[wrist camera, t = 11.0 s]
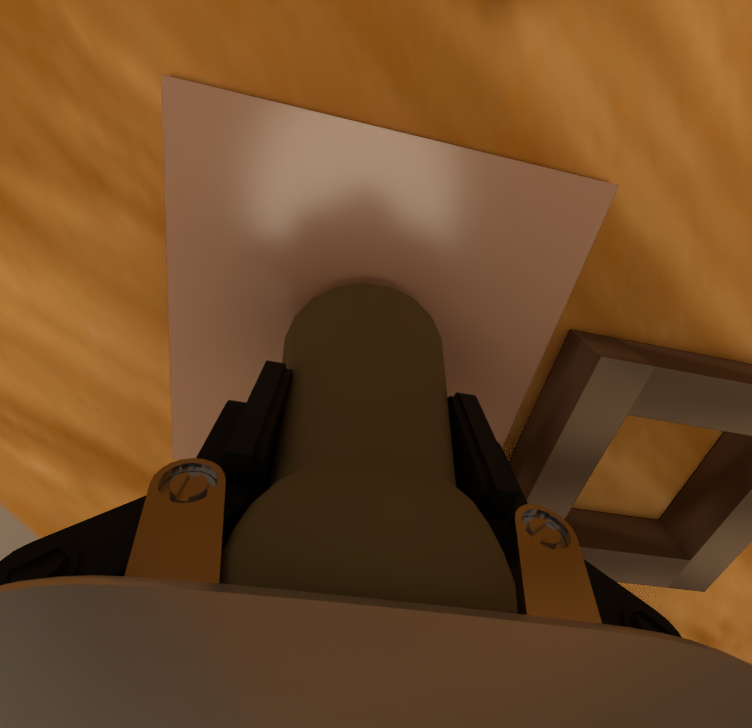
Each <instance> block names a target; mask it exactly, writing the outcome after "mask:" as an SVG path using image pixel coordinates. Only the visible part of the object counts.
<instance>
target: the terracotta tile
mask: <svg viewBox="0 0 752 728" xmlns="http://www.w3.org/2000/svg"><path fill="white" fill-rule="evenodd" d="M161 81H162V114H163V147H164V181H165V214H166V248H167V281H168V314H169V348H170V381H171V415H172V448H173V459H178V460H181V459H190V458H196V457H197V455H198V453H199V451H200V450H201V448H202V446H203V444H204V442H205V441H206V439H207V437H208V435H209V433H210V431H211V430H212V428H213V426H214V424H215V422H216V420H217V419H218V417H219V415H220V413H221V411H222V410H223V408H224V406H225V404H226V403H227V401H228V400H234V401H240V402H247V400H248V398H249V396H250V394H251V392H252V390H253V387H254V385H255V383H256V381H257V379H258V377H259V375H260V373H261V370H262V368H263V366H264V364H265V362H266V360H268V361H274V362H280V363H282V359H283V349H284V340H285V336H286V334H287V332H288V330H289V328H290V326H291V323H292V321H293V319H294V317H295V316H296V315H297V314H298V313H299V312H300V311H301V310H302V309H303V308H304V307H305V306H306V305H307V304H308V302H309V301H310V300H311V299H312V298H314V297H316V296H318V295H320V294H322V293H324V292H326V291H328V290H330V289H332V288H334V287H337V286H344V285H350V284H357V283H370V284H376V285H382V286H389V287H392V288H394V289H396V290H398V291H400V292H402V293H404V294H406V295H408V296H410V297H412V298H414V299H415V300H416V301H417V302H418V303H419V304H420V305H421V306H422V307H423V308H424V309H425V310H426V311H427V312H428V313H429V314H430V316H431V317H432V318H433V321H434V323H435V325H436V327H437V329H438V331H439V334H440V336H441V338H442V347H443V357H444V367H445V378H446V388H447V398H448V397H449V396H454V395H455V393H457V392H459V393H465V394H471V395H475V396H476V397H477V399H478V401H479V403H480V406H481V408H482V410H483V412H484V414H485V416H486V419H487V421H488V423H489V425H490V427H491V430H492V432H493V434H494V436H495V438H496V440H497V442H499V444H500V445H501V447H503V445H504V443H505V441H506V438H507V436H508V434H509V432H510V429H511V427H512V425H513V423H514V420H515V418H516V416H517V414H518V411H519V409H520V407H521V405H522V402H523V400H524V398H525V396H526V393H527V391H528V389H529V387H530V384H531V382H532V380H533V378H534V375H535V373H536V371H537V369H538V366H539V364H540V362H541V360H542V357H543V355H544V353H545V351H546V348H547V346H548V344H549V342H550V339H551V337H552V335H553V333H554V330H555V328H556V326H557V324H558V321H559V319H560V317H561V315H562V312H563V310H564V308H565V306H566V303H567V301H568V299H569V297H570V294H571V292H572V290H573V288H574V285H575V283H576V281H577V279H578V276H579V274H580V272H581V270H582V267H583V265H584V263H585V261H586V259H587V256H588V254H589V252H590V250H591V247H592V245H593V243H594V241H595V238H596V236H597V234H598V232H599V229H600V227H601V225H602V223H603V220H604V218H605V216H606V214H607V211H608V209H609V207H610V205H611V202H612V200H613V198H614V196H615V193H616V191H617V189H618V187H619V185H616V184H612V183H608V182H604V181H600V180H596V179H591V178H587V177H583V176H579V175H575V174H571V173H567V172H563V171H558V170H554V169H550V168H546V167H542V166H538V165H534V164H529V163H525V162H521V161H517V160H513V159H509V158H505V157H501V156H496V155H492V154H488V153H484V152H480V151H476V150H472V149H468V148H463V147H459V146H455V145H451V144H447V143H443V142H439V141H435V140H430V139H426V138H422V137H418V136H414V135H410V134H406V133H402V132H397V131H393V130H389V129H385V128H381V127H377V126H373V125H368V124H364V123H360V122H356V121H352V120H348V119H344V118H340V117H335V116H331V115H327V114H323V113H319V112H315V111H311V110H307V109H302V108H298V107H294V106H290V105H286V104H282V103H278V102H274V101H269V100H265V99H261V98H257V97H253V96H249V95H245V94H240V93H236V92H232V91H228V90H224V89H220V88H216V87H212V86H207V85H203V84H199V83H195V82H191V81H187V80H183V79H179V78H174V77H170V76H166V75H162V74H161Z"/></svg>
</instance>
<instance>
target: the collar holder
mask: <svg viewBox="0 0 752 728" xmlns="http://www.w3.org/2000/svg"><path fill="white" fill-rule="evenodd" d="M626 415H632V416H637V417H643V418H649V419H655V420H661V421H667V422H673V423H679V424H685V425H691V426H697V427H703V428H709V429H715V430H721V431H725V432H724V434H723V435H722V436H721V438H720V439H719V440H718V442H717V443H716V444H715V446H714V447H713V448H712V450H711V451H710V452H709V454H708V455H707V456H706V458H705V459H704V460H703V462H702V463H701V464H700V466H699V467H698V468H697V470H696V471H695V473H694V474H693V475H692V477H691V478H690V479H689V481H688V482H687V483H686V485H685V486H684V487H683V489H682V490H681V491H680V493H679V494H678V495H677V497H676V498H675V499H674V501H673V502H672V503H671V505H670V506H669V507H668V509H667V510H666V511H665V513H664V514H663V515H662V517H661V518H660V519H659V520H652V519H645V518H638V517H630V516H623V515H616V514H608V513H601V512H593V511H586V510H579V509H571V508H572V506H573V504H574V503H575V501H576V499H577V498H578V496H579V494H580V492H581V491H582V489H583V487H584V486H585V484H586V482H587V481H588V479H589V477H590V476H591V474H592V472H593V471H594V469H595V467H596V466H597V464H598V462H599V461H600V459H601V457H602V456H603V454H604V452H605V451H606V449H607V447H608V445H609V444H610V442H611V440H612V439H613V437H614V435H615V434H616V432H617V430H618V429H619V427H620V425H621V424H622V422H623V420H624V419H625V417H626ZM509 464H510V466H511V468H512V470H513V473H514V475H515V477H516V479H517V481H518V483H519V485H520V488H521V490H522V492H523V494H524V496H525V498H526V500H527V503H528V504H534V505H539V506H543V507H545V508H547V509H550V510H552V511H553V512H555V513H556V514H558V515H560V516H561V517H562V518H563V519H564V520H565V521H566V522H568V524H569V525H570V526H571V528H572V529H573V530H574V532H575V534H576V537H577V539H578V542H579V546H580V549H581V553H582V556H583V559H585V560H586V561H587V562H589V563H590V564H592V565H593V566H594V567H596V568H597V569H599V570H600V571H601V572H603V573H604V574H606V575H607V576H608V577H610V578H611V579H613V580H614V581H615V582H622V583H631V584H640V585H649V586H658V587H666V588H675V589H684V590H693V591H701V592H705V591H706V590H707V588H708V587H709V586H710V585H711V584H712V583H713V582H714V581H715V580H716V579H717V578H718V577H719V576H720V574H721V573H722V572H723V571H724V570H725V569H726V568H727V567H728V566H729V565H730V564H731V563H732V562H733V560H734V559H735V558H736V557H737V556H738V555H739V554H740V553H741V552H742V551H743V550H744V549H745V547H746V546H747V545H748V544H749V543H750V542H751V541H752V364H747V363H742V362H737V361H731V360H726V359H721V358H716V357H711V356H705V355H700V354H695V353H690V352H685V351H679V350H674V349H669V348H664V347H659V346H653V345H648V344H643V343H638V342H633V341H627V340H622V339H617V338H612V337H607V336H601V335H596V334H591V333H586V332H581V331H575V330H570V332H569V334H568V336H567V338H566V340H565V342H564V345H563V347H562V349H561V351H560V353H559V355H558V357H557V360H556V362H555V364H554V366H553V368H552V370H551V373H550V375H549V377H548V379H547V381H546V383H545V385H544V388H543V390H542V392H541V394H540V396H539V398H538V401H537V403H536V405H535V407H534V409H533V411H532V413H531V416H530V418H529V420H528V422H527V424H526V426H525V429H524V431H523V433H522V435H521V437H520V439H519V442H518V444H517V446H516V448H515V450H514V452H513V454H512V457H511V459H510V461H509Z"/></svg>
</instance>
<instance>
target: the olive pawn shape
mask: <svg viewBox="0 0 752 728" xmlns="http://www.w3.org/2000/svg"><path fill="white" fill-rule="evenodd" d="M282 363H286V369H292V376H291V380H290V383H289V387H288V391H287V395H286V399H285V404H284V408H283V412H282V416H281V421H280V425H279V429H278V433H277V438H276V442H275V446H274V450H273V456H272V465H271V475H270V485H269V489H268V490H267V491H266V492H264V493H263V494H262V495H261V496H260V497H258V498H257V499H256V500H255V501H254V502H253V503H252V504H251V505H250V506H249V508H248V509H247V511H246V512H245V513H244V515H243V516H242V518H241V519H240V521H239V522H238V523H237V525H236V526H235V528H234V530H233V532H232V534H231V536H230V537H229V539H228V541H227V543H226V545H225V547H224V549H223V551H222V553H221V566H220V582H219V583H221V584H232V585H242V586H252V587H262V588H273V589H283V590H293V591H303V592H314V593H324V594H334V595H344V596H354V597H364V598H373V599H383V600H393V601H403V602H412V603H422V604H431V605H441V606H451V607H460V608H470V609H479V610H488V611H497V612H506V613H515V614H518V608H517V597H516V586H515V582H514V579H513V577H512V574H511V571H510V568H509V566H508V563H507V560H506V558H505V555H504V552H503V550H502V548H501V547H500V545H499V543H498V541H497V539H496V537H495V535H494V533H493V531H492V529H491V527H490V526H489V524H488V522H487V521H486V519H485V518H484V517H483V515H482V514H481V512H480V511H479V509H478V508H477V507H476V505H475V504H474V502H473V501H472V500H471V499H470V498H469V497H467V496H466V495H465V494H464V493H463V492H461V491H460V490H459V489H458V488H456V480H455V470H454V460H453V450H452V439H451V429H450V419H449V408H448V398H447V388H446V378H445V367H444V357H443V347H442V338H441V336H440V334H439V331H438V329H437V327H436V325H435V323H434V321H433V318H432V317H431V316H430V314H429V313H428V312H427V311H426V310H425V309H424V308H423V307H422V306H421V305H420V304H419V303H418V302H417V301H416V300H415V299H414V298H412V297H410V296H408V295H406V294H404V293H402V292H400V291H398V290H396V289H394V288H392V287H389V286H382V285H376V284H370V283H357V284H350V285H344V286H337V287H334V288H332V289H330V290H328V291H326V292H324V293H322V294H320V295H318V296H316V297H314V298H312V299H311V300H310V301H309V302H308V304H307V305H306V306H305V307H304V308H303V309H302V310H301V311H300V312H299V313H298V314H297V315H296V316H295V317H294V319H293V321H292V323H291V326H290V328H289V330H288V332H287V334H286V336H285V340H284V349H283V359H282Z"/></svg>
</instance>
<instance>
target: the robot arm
mask: <svg viewBox="0 0 752 728" xmlns="http://www.w3.org/2000/svg"><path fill="white" fill-rule="evenodd" d="M291 376H292V369H286V363H280V362H274V361H268V360H266V362H265V364H264V366H263V368H262V370H261V373H260V375H259V377H258V379H257V381H256V383H255V385H254V387H253V390H252V392H251V394H250V396H249V398H248V400H247V402H240V401H234V400H228V401H227V403H226V404H225V406H224V408H223V410H222V411H221V413H220V415H219V417H218V419H217V420H216V422H215V424H214V426H213V428H212V430H211V431H210V433H209V435H208V437H207V439H206V441H205V442H204V444H203V446H202V448H201V450H200V451H199V453H198V455H197V457H196V458H190V459H181V460H178V461H175V462H172V463H170V464H168V465H166V466H164V467H163V468H161V469H160V470H159V471H158V472H157V473H156V474H155V475H154V476H153V478H152V480H151V482H150V485H149V488H148V492H147V495H146V496H144V497H141V498H139V499H137V500H134V501H132V502H129V503H127V504H124V505H122V506H119V507H117V508H114V509H112V510H110V511H107V512H105V513H102V514H100V515H97V516H95V517H92V518H90V519H87V520H85V521H83V522H80V523H78V524H75V525H73V526H70V527H68V528H65V529H63V530H60V531H58V532H56V533H53V534H51V535H48V536H46V537H43V538H41V539H38V540H36V541H33V542H31V543H29V544H27V545H25V546H23V547H21V548H19V549H17V550H15V551H13V552H12V553H11V554H9V555H8V556H7V557H5V558H4V559H2V560H1V561H0V728H752V665H751V664H749V663H747V662H745V661H743V660H740V659H738V658H736V657H734V656H732V655H730V654H728V653H725V652H723V651H721V650H718V649H715V648H712V647H709V646H706V645H704V644H701V643H698V642H695V641H692V640H689V639H685V638H682V637H681V635H680V634H679V632H678V631H677V630H676V629H675V628H674V627H673V625H672V624H671V623H670V622H669V621H668V620H667V619H666V618H664V617H663V616H662V615H661V614H660V613H658V612H657V611H656V610H654V609H653V608H652V607H650V606H649V605H647V604H646V603H645V602H643V601H642V600H640V599H639V598H638V597H636V596H635V595H633V594H632V593H631V592H629V591H628V590H626V589H625V588H624V587H622V586H621V585H620V584H618V583H617V582H615V581H614V580H613V579H611V578H610V577H608V576H607V575H606V574H604V573H603V572H601V571H600V570H599V569H597V568H596V567H594V566H593V565H592V564H590V563H589V562H587V561H586V560H585V559H583V556H582V553H581V549H580V546H579V542H578V539H577V537H576V534H575V532H574V530H573V529H572V528H571V526H570V525H569V524H568V522H566V521H565V520H564V519H563V518H562V517H561V516H560V515H558V514H556V513H555V512H553V511H552V510H550V509H547V508H545V507H543V506H539V505H534V504H528V503H527V500H526V498H525V496H524V494H523V492H522V490H521V488H520V485H519V483H518V481H517V479H516V477H515V475H514V473H513V470H512V468H511V466H510V464H509V462H508V460H507V458H506V455H505V453H504V451H503V449H502V447H501V445H500V444H499V442H497V440H496V438H495V436H494V434H493V432H492V430H491V427H490V425H489V423H488V421H487V419H486V416H485V414H484V412H483V410H482V408H481V406H480V403H479V401H478V399H477V397H476V396H475V395H471V394H465V393H459V392H457V393H455V395H454V396H449V397H448V408H449V419H450V429H451V439H452V450H453V460H454V470H455V480H456V488H458V489H459V490H460V491H461V492H463V493H464V494H465V495H466V496H467V497H469V498H470V499H471V500H472V501H473V502H474V504H475V505H476V507H477V508H478V509H479V511H480V512H481V514H482V515H483V517H484V518H485V519H486V521H487V522H488V524H489V526H490V527H491V529H492V531H493V533H494V535H495V537H496V539H497V541H498V543H499V545H500V547H501V548H502V550H503V552H504V555H505V558H506V560H507V563H508V566H509V568H510V571H511V574H512V577H513V579H514V582H515V586H516V597H517V608H518V614H515V613H506V612H497V611H488V610H479V609H470V608H460V607H451V606H441V605H431V604H422V603H412V602H403V601H393V600H383V599H373V598H364V597H354V596H344V595H334V594H324V593H314V592H303V591H293V590H283V589H273V588H262V587H252V586H242V585H232V584H221V583H219V582H220V566H221V553H222V551H223V549H224V547H225V545H226V543H227V541H228V539H229V537H230V536H231V534H232V532H233V530H234V528H235V526H236V525H237V523H238V522H239V521H240V519H241V518H242V516H243V515H244V513H245V512H246V511H247V509H248V508H249V506H250V505H251V504H252V503H253V502H254V501H255V500H256V499H257V498H258V497H260V496H261V495H262V494H263V493H264V492H266V491H267V490H268V489H269V485H270V475H271V465H272V456H273V450H274V446H275V442H276V438H277V433H278V429H279V425H280V421H281V416H282V412H283V408H284V404H285V399H286V395H287V391H288V387H289V383H290V380H291Z"/></svg>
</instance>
